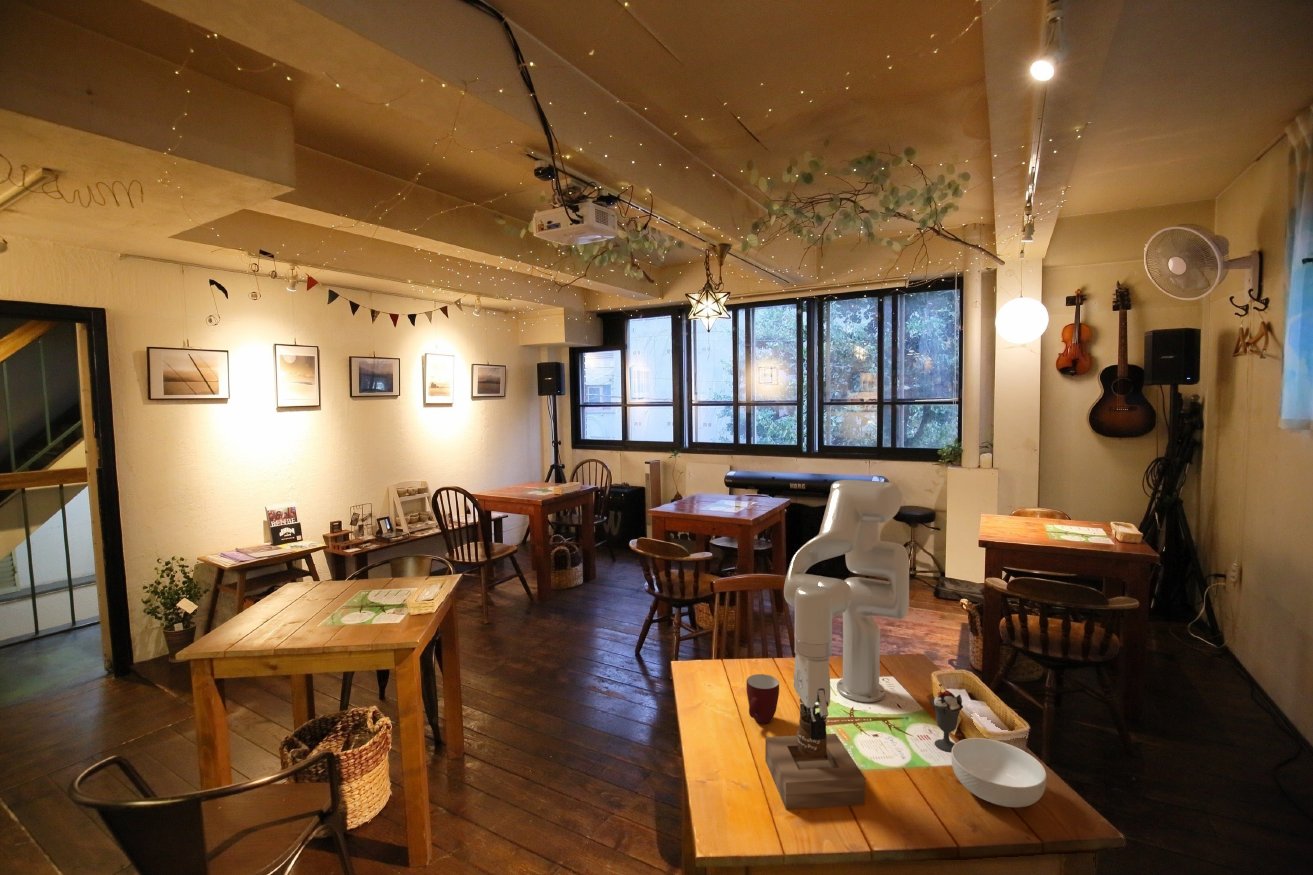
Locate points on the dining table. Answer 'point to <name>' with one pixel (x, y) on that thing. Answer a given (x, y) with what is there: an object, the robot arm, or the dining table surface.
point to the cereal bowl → (998, 772)
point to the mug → (762, 697)
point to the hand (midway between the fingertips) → (812, 729)
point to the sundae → (946, 716)
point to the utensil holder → (809, 739)
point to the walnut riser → (814, 774)
